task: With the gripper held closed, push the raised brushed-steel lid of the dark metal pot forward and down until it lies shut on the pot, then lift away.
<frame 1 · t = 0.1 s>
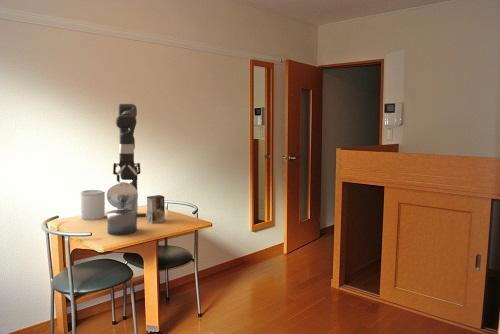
hand: (127, 181, 215), 29 cm above the table, tool pointing down, fingers open, 8 cm apart
utensil holder: (93, 217, 254), on the table
coffee box: (155, 221, 247), on the table
steel pot: (122, 231, 222), on the table
pot lid: (122, 195, 227), point 20 cm above the table, hinge at 70.0°
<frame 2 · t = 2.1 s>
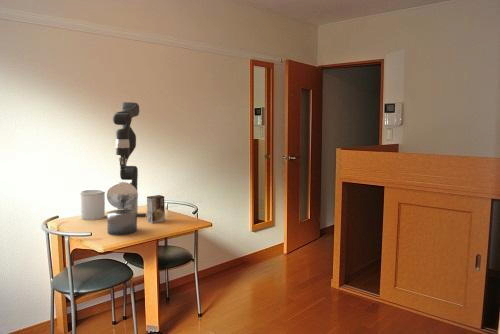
hand: (123, 175, 234), 30 cm above the table, tool pointing down, fingers closed
nothing on the table moved.
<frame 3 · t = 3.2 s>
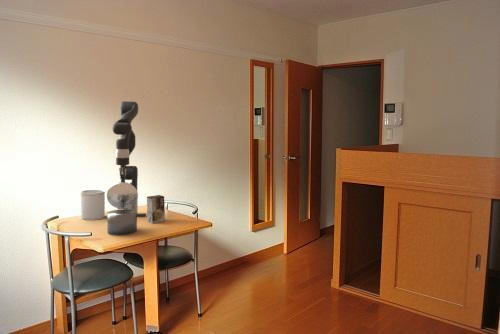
hand: (123, 185, 233), 24 cm above the table, tool pointing down, fingers closed
nothing on the table moved.
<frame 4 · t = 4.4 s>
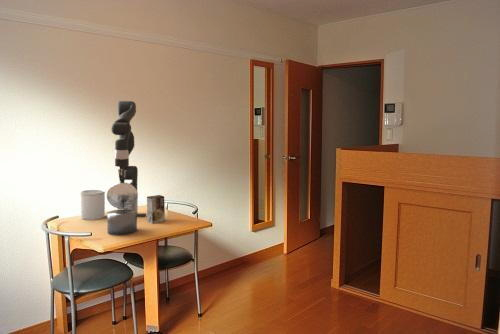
hand: (122, 187, 225), 24 cm above the table, tool pointing down, fingers closed
pot lid: (122, 195, 226), point 20 cm above the table, hinge at 69.0°, touching gripper
everything else where it was.
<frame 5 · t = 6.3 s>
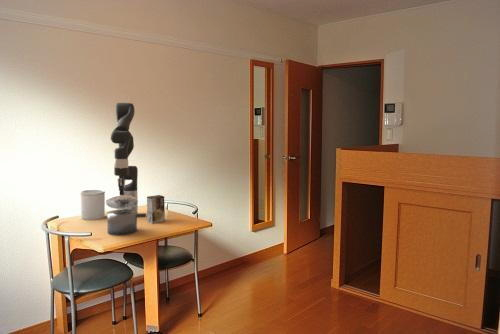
hand: (121, 197, 219), 20 cm above the table, tool pointing down, fingers closed
pot lid: (122, 201, 223), point 17 cm above the table, hinge at 35.7°, touching gripper
everything else where it was.
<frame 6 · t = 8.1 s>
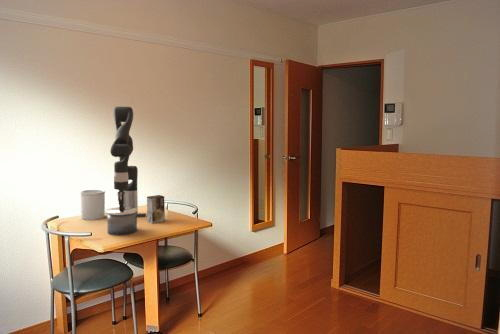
hand: (121, 211, 217), 13 cm above the table, tool pointing down, fingers closed
pot lid: (122, 209, 221), point 13 cm above the table, hinge at 1.5°, touching gripper
everything else where it was.
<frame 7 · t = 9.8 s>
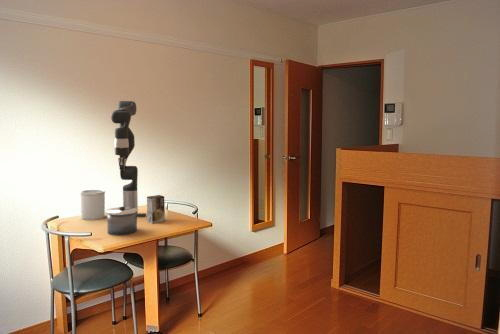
hand: (122, 176, 225), 31 cm above the table, tool pointing down, fingers closed
pot lid: (122, 209, 221), point 13 cm above the table, hinge at 1.4°
everything else where it was.
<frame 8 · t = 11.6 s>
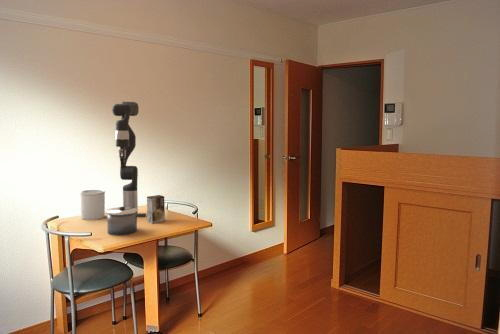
hand: (122, 167, 230), 35 cm above the table, tool pointing down, fingers closed
nothing on the table moved.
at the end: pot lid at +1° (first picture: +70°); coffee box moved 0.2 cm from its start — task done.
